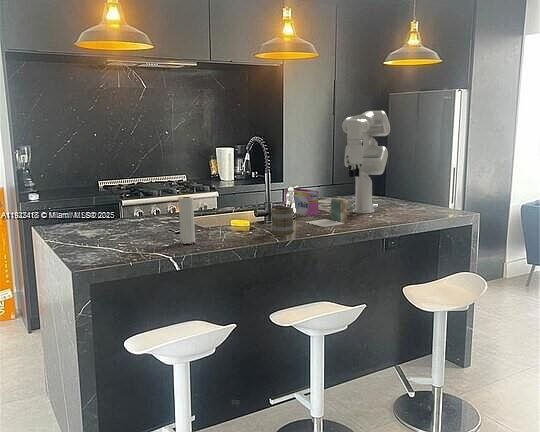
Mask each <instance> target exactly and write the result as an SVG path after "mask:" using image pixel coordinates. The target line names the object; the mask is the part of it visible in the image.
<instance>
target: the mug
mask: <svg viewBox="0 0 540 432" xmlns="http://www.w3.org/2000/svg"><path fill="white" fill-rule="evenodd" d="M271 225H272V226H271V227H272V229H271V233H273V235H275V234H276V236H288V235H293V233H294V213H293V208H290V207H284V206H278V207H272V208H271Z"/></svg>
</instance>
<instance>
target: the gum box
mask: <svg viewBox="0 0 540 432" xmlns="http://www.w3.org/2000/svg"><path fill="white" fill-rule="evenodd" d="M293 188H294V200H295V208H296V213H295V214H296V215H303V216H308V217H311V216H317V215H319V191H318V190H311V189H303V188H298V187H293ZM287 191H288V189H286V188H284V192H283V193H284V196H283V197H284V199H283V200H284V202H283V203H284V206H283V207H285V203H286V194H287Z"/></svg>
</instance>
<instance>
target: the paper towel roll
mask: <svg viewBox="0 0 540 432" xmlns="http://www.w3.org/2000/svg"><path fill="white" fill-rule="evenodd" d="M177 198H178V199H177V200H178V216H179V236H180V237H179V239H180V241H181V240H182V242H184V243H191V242H195V243H196V234H195V232H196V230H195V228H196V227H195V212H194V210H195V209H194V207H195V206H194V197H193V196H178V197H177ZM182 242H181V243H182Z"/></svg>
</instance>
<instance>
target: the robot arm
mask: <svg viewBox="0 0 540 432" xmlns="http://www.w3.org/2000/svg"><path fill="white" fill-rule="evenodd" d="M341 125H342V126H341V127H342V130H343V132H344V133H345V134H346V135H347V136H346V138H347V140H346V141H347V142H346V143H347V145H345V150H344V159H343V160H344V163H343V164H344V165H343V166H345V167H346V168H347V170H348V178H355V197H354V198H355V202H354V204H355V207H354V208H353V209H352V212H353V213H354V214H373V213H374V212H375V209H374V208H378V204H377V203H375V204H374V203H373V202H372V201H373V181H372V179H371V177H370V176H369V175H373V176H374V175H375V176H376V175H382V174H383V173H384V172H385V169H386V166H387V165H386V164H387V161H388V158H389V157H388V156H389V154H388V153H389V152H388V148H387V147H386V146H383V145H378V144H379V143H378V141H377V140H376V139H375V138H374V137H386V136H389V135H390V133H391V124H390V121H389V118H388V116H387V113H386V112H385V111H384V110H368V111H365V112H363V113H362V114H358V115H354V116H350V117H346V118H345V119H344V120H343V122H342V124H341ZM362 143H363V144H362Z"/></svg>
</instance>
